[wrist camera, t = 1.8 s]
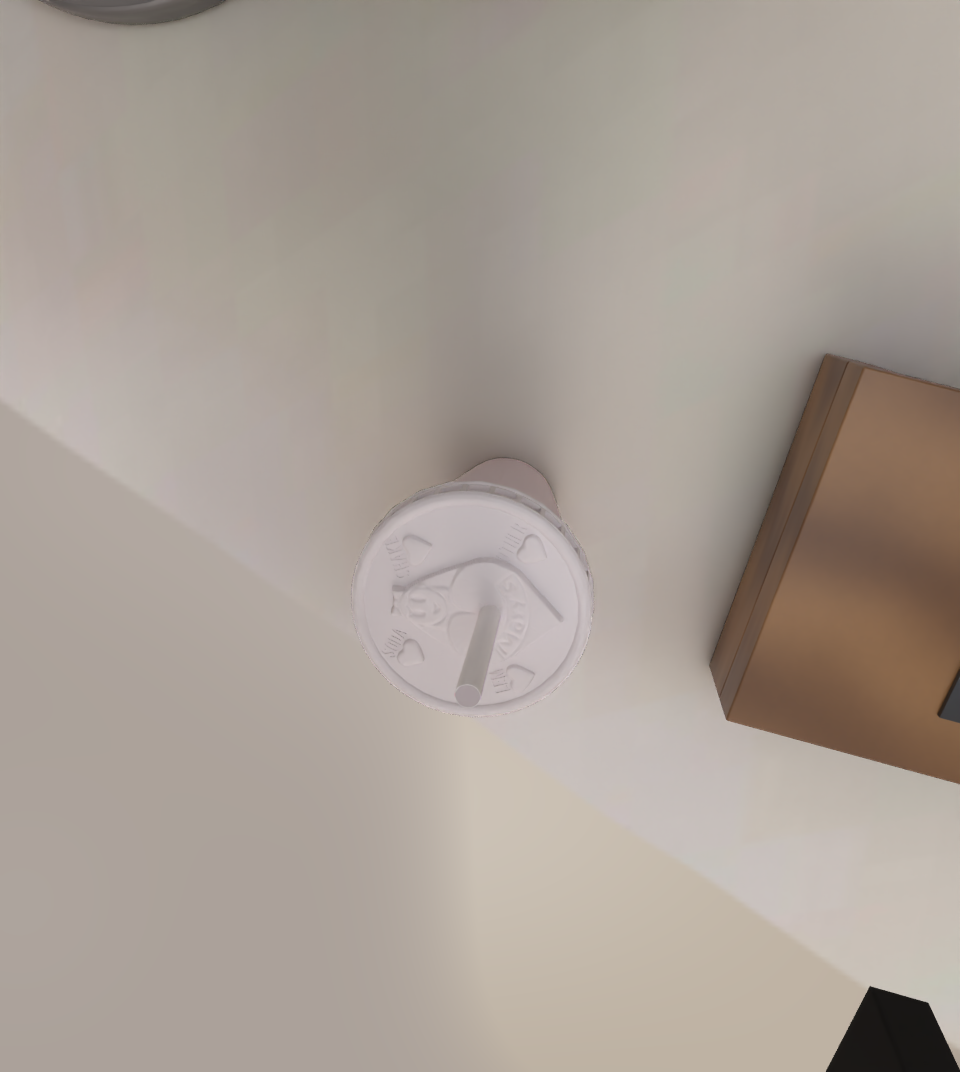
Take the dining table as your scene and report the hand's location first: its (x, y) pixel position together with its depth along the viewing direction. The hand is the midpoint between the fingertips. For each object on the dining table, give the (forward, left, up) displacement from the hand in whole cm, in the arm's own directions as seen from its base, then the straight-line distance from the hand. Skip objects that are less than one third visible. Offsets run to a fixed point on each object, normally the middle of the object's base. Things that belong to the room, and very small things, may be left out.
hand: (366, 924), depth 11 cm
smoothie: (0, 0, -20) cm, 20 cm away
